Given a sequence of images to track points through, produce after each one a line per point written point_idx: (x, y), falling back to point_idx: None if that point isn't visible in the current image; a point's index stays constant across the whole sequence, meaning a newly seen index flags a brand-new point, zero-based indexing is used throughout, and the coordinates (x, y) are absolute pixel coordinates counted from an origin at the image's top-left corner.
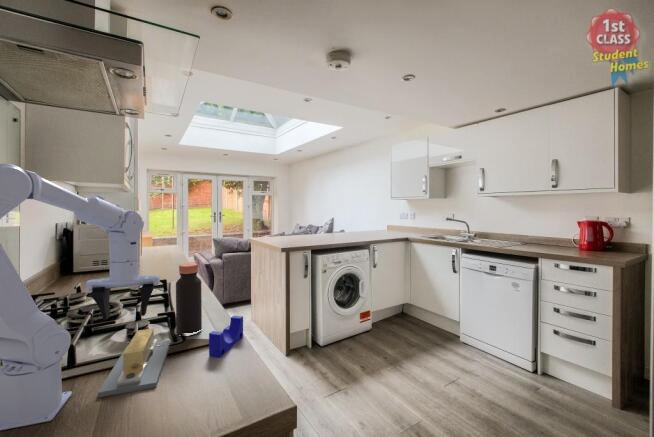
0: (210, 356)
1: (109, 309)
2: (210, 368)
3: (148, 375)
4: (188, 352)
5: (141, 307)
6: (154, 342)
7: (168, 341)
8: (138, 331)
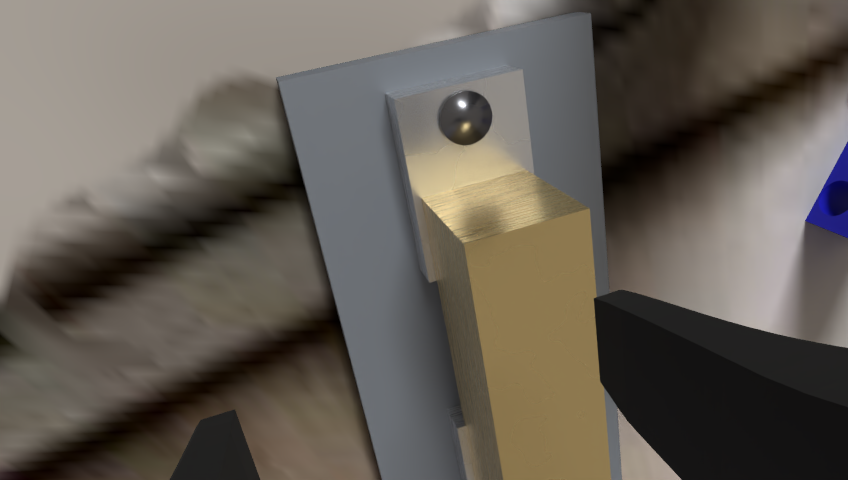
0: (811, 222)
1: (225, 454)
2: (805, 333)
3: None
4: (702, 166)
5: (674, 464)
6: (521, 141)
7: (580, 43)
8: (480, 264)
